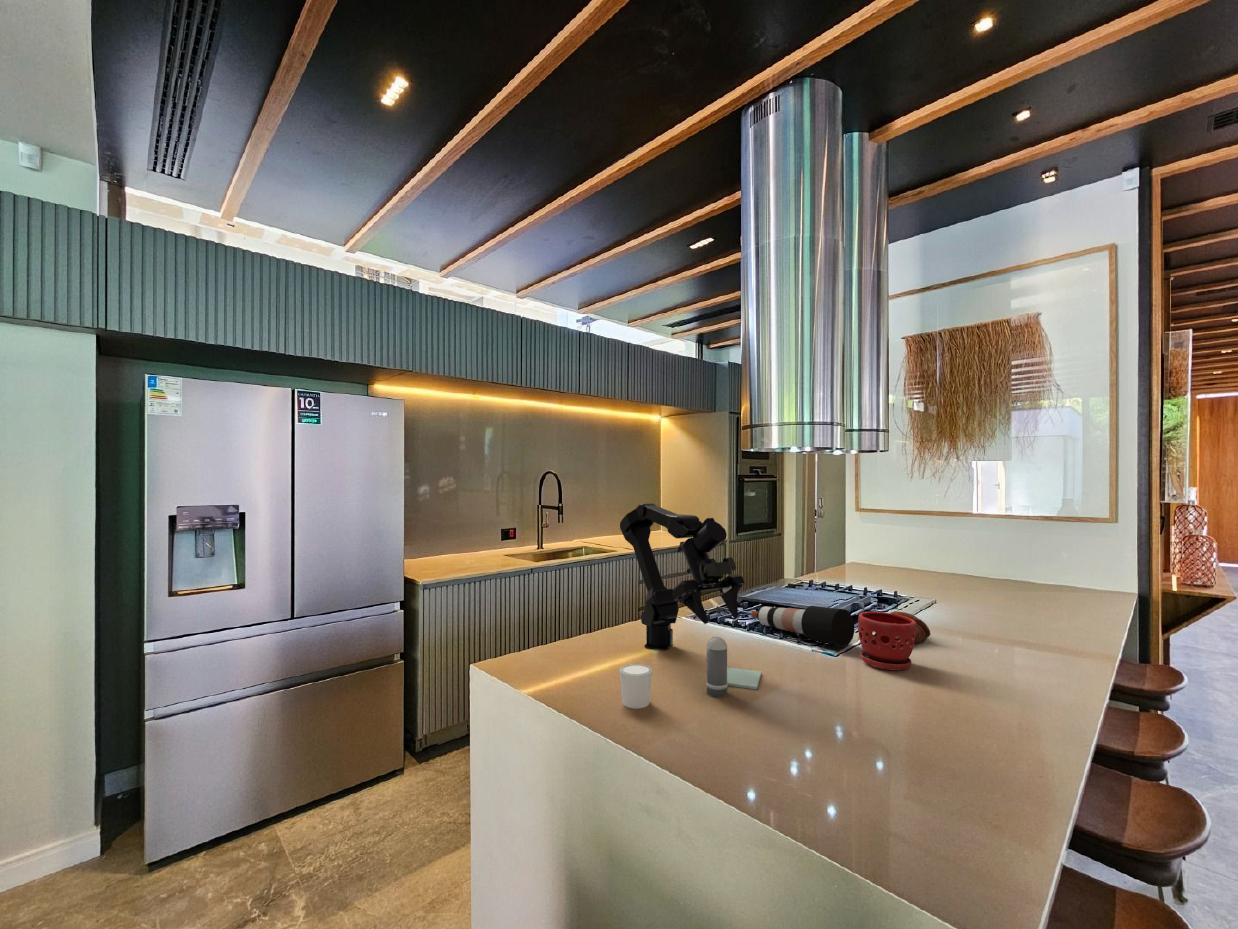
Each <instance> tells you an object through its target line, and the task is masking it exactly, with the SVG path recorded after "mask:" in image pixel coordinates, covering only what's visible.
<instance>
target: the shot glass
mask: <svg viewBox="0 0 1238 929" xmlns="http://www.w3.org/2000/svg"><path fill="white" fill-rule="evenodd" d="M652 673H653V669H652V667H651V666H648V665H646V664H645V665H644V664H640V663H639V664H637V663H634V664H633V663H632V664H626V665H623V666H621V667H620V668H619V678H620V691H621V700H622V701H621V702H622V705H623V706H625V707H626V708H628V709H629V708H630V709H634V710H635V709H637V710H638V709H644V708H646V707H648V706H649V705H650V701H651V700H650V697H651V688H652V687H651V686H652V676H653V674H652Z"/></svg>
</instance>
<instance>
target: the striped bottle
mask: <svg viewBox="0 0 1238 929" xmlns="http://www.w3.org/2000/svg"><path fill="white" fill-rule="evenodd" d="M750 616H751V618H754V619H758V621H759V623H760V624H761V625H762V626H764V625H765V626H764V627H769V626H771V627H770V628H773V627H774V628H775V629H778V630H783V631H786V632H788V631H790V632H789V633H794V632H796V633H795V634H799V633H800V634H801V635H803V636H804V637H805V638H806V639H807V640H808V639H810V640H814V641H818V642H817V643H819V642H824V643H823V644H825V643H828V644H827V645H830V644H833V645H832V646H835V645H837V647H841V646H844V645H847V646H848V645H850V644H851V643H852V641H853V639H854V634H855V621H854V617H853V616H852V613H850V611H848V610H847V609H845V608H836V607H828V606H819V605H810V606H807V607H806V608H805V609H803V608H802V609H801V608H794V607H793V608H792V607H787V608H786V607H776V606H775V607H774V606H762V607H760V609H759V611H757V610H752V611H751V612H750ZM774 628H773V629H774ZM810 640H809V641H810ZM814 641H813V642H814ZM844 647H845V646H844Z"/></svg>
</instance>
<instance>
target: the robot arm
mask: <svg viewBox="0 0 1238 929" xmlns="http://www.w3.org/2000/svg"><path fill="white" fill-rule="evenodd" d="M654 524H657V525H660V526H662V527H664V528H665V529H667V533H668V534H670V535H671V536H672V537H674V538H675V539H686V540H685V541H680V542H679V545H678V548H677V553H683V555H684V558H685V560H686V562H687V563H686V564H687V565H688V569H686V572H687V574H689V575H690V574H691V577H692V579H687V580H682V581H680V582H679V583H678V584H676V586H674V587H673V588H668V587H666V586H665V584H664V581H663V578H662V576H661V573H660V570H659V567H658V563H657V560H656V559H655V555H654V552H653V549H652V547H651V546H652V545H651V543H650V537H651V536H650V535H651V533H652V530H651V528H652V527H653V525H654ZM619 528H620V531H621V533H622V536H623V538H624V540H625V541H626V542H627V543H628V544H630V546H632V548H633V550H634V554H635V557H636V561H637V563H638V566H639V570H640V572H641V576H642V578H643V579H642V580H643V582H644V585H645V588H646V591H647V594H646V598H645V601H644V602H645V609H644V610H643V612H642V613H641V614H640V622H641V624H642V625H645V626H646V628H645V629H646V630H645V631H646V643H645V644H644V648H646V649H657V650H663V651H667V650H669V648H670V647H671V646H672V645H673V642H674V641H673V640H674V637H673V634H674V633H673V632H674V630H673V628H672V624H676V623H677V618H678V615H679V609H680V607H679V605H678V603H680V604H683V605H684V606H686V607H687V608H688V609H689V610H690V611H691V612H692V613H693V614H694V615H695V616H696V617H697V618H698V619H699V620H700V621H701V622H702V623H703V624H704V625H706V624H708V623H709V620H708V616H707V613H706V610H705V608H704V605H703V602H702V592H708V591H715V590H718V591H719V592H720V593H721V595H720V597H721V599H722V600H723V603H724V604H725V606H726V607H727V610H728V611H729V613H730V614H731V616H732V618H733V619H734V620H736V619H738V617H739V609H738V593H739V592H740V590H741V589H742V588H743V585H745V584H746V582H745V580H744V578H743V576H742V575H741V574H733V572H732V571H736V569H737V567H736V563H735V560H734V559H733V557H732V556H731V557H726V558H722V561H721V562H717V561H716V560H715V558H711V557H710V555H709V553H712V551H714V550H715V549H716V548H717V547H718V546H720V545H721V544H722V543H723V542H724V541H726V539H727V531H726V529H725V528H724V527H723V525H721V523H719V522H717V521H715V518H714V517H707V518H705V519H704V520H703V522H702V521H701V520H700V518H699V517H698V516H697V515H693V514H680V513H679V514H677V513H675V512H673V511H670V510H668V509H666V508H664V507H660V506H658V505H657V504H654V503H640V504H639V505H637V507H635V509H632V510H631V511H629V512H628V513H627V514H625V515H624V517H623V518H622V519H621V520H620V523H619ZM724 575H725V576H726V575H727V576H726V577H724Z"/></svg>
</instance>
